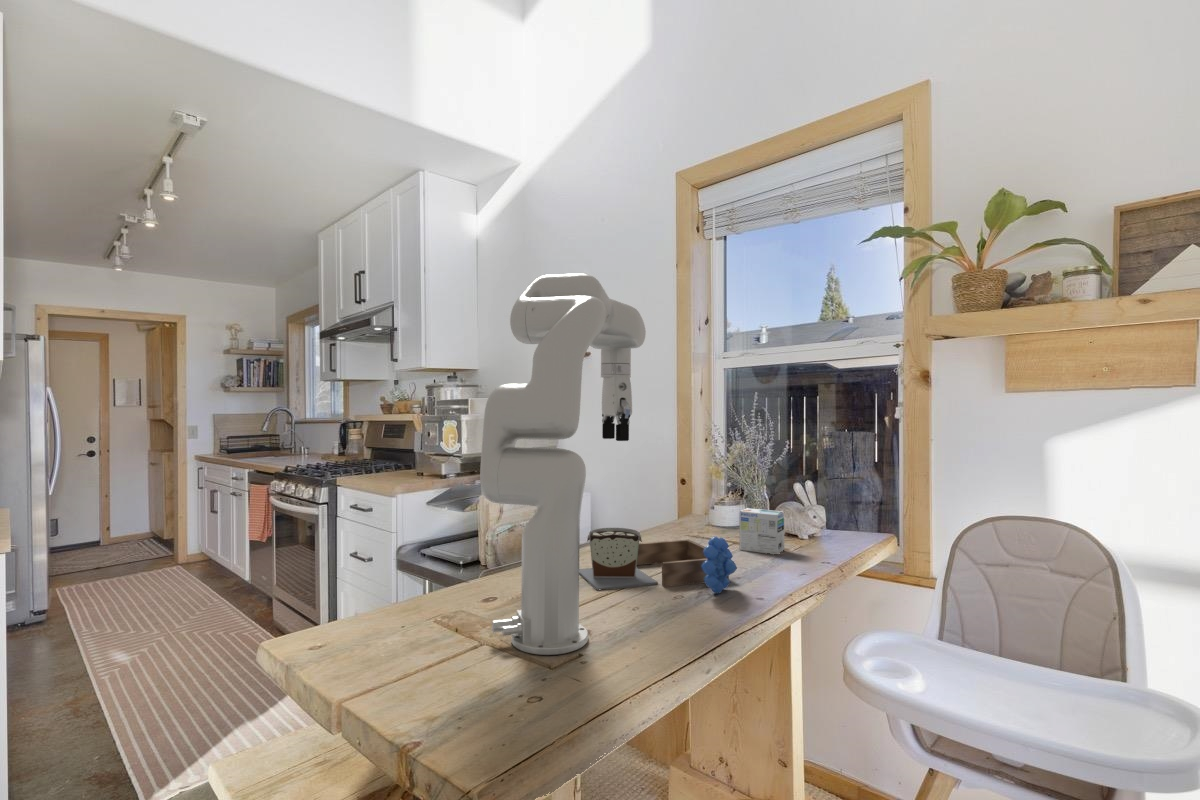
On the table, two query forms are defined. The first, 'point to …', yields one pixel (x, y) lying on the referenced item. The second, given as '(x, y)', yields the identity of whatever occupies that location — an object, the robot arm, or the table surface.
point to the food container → (614, 552)
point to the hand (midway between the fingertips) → (615, 439)
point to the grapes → (717, 564)
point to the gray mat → (617, 580)
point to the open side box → (675, 560)
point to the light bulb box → (761, 530)
